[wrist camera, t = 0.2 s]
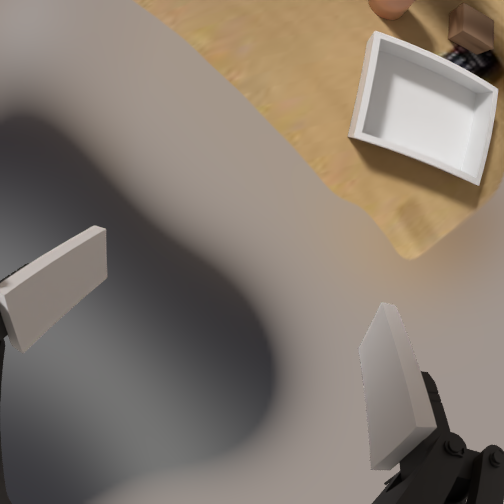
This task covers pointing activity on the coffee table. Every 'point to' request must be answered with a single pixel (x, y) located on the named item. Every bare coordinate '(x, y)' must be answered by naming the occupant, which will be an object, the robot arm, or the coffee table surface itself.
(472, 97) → the tote
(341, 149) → the coffee table surface
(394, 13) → the round-ended peach cylinder
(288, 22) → the coffee table surface
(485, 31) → the walnut cube
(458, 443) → the robot arm
